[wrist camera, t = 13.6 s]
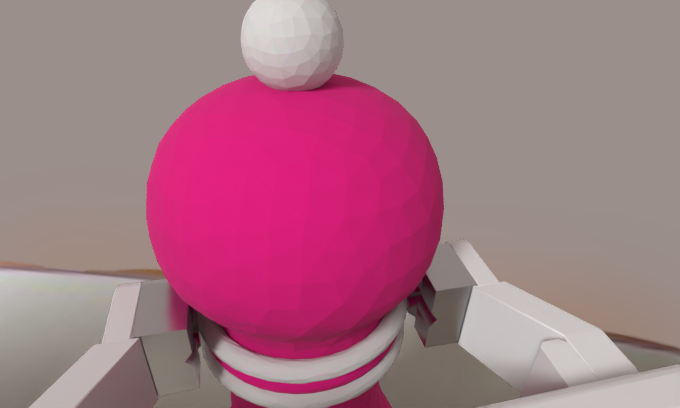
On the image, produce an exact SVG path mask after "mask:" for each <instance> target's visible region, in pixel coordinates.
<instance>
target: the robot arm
mask: <svg viewBox="0 0 680 408" xmlns="http://www.w3.org/2000/svg"><path fill="white" fill-rule="evenodd" d="M407 311H408V313H410V314H412V315H413V316H415V317H416V320H415V328H416V330H417V332H418V334H419V336H420V338H421V340H422V342H423V344H424V346H425V347H432V346H438V345H445V344H451V343H458V342H459V343H458V344H459V345H460V346H461V347H463V348H464V349H465V350H466V351H468V352H469V353H470V354H472V355H473V356H474V357H475V358H477V359H478V360H479V361H481V362H482V363H483V364H484V365H486V366H487V367H488V368H490V369H491V370H492V371H493V372H495V373H496V374H497V375H498V376H500V377H501V378H502V379H504V380H505V381H506V382H507V383H509V384H510V385H511V386H513V387H514V388H515V389H516V390H518V391H519V392H520V393H521V396H520V398H517V399H513V400H508V401H503V402H499V403H494V404H489V405H485V406H480V407H475V408H680V364H675V365H671V366H666V367H662V368H657V369H652V370H648V371H643V372H639V371H638V369H637V368H636V367H635V366H634V365H633V364H632V363H631V362H630V361H629V360H628V358H627V357H626V356H625V355H624V354H623V353H622V352H621V351H620V350H619V349H618V347H617V346H616V345H615V344H614V343H613V342H612V341H611V340H610V339H609V338H608V336H607V335H606V334H605V333H604V332H603V331H602V330H601V329H599V328H597V327H595V326H593V325H591V324H589V323H587V322H585V321H583V320H581V319H579V318H577V317H575V316H573V315H571V314H569V313H567V312H565V311H563V310H561V309H559V308H557V307H555V306H553V305H551V304H549V303H547V302H545V301H543V300H541V299H539V298H537V297H535V296H533V295H531V294H529V293H527V292H525V291H523V290H521V289H519V288H517V287H515V286H513V285H511V284H509V283H507V282H499V281H498V279H497V278H496V277H495V276H494V274H493V273H492V272H491V271H490V269H489V268H488V266H487V265H486V264H485V263H484V261H483V260H482V259H481V258H480V256H479V255H478V254H477V252H476V251H475V250H474V248H473V247H472V246H471V244H470V243H469V242H468V241H466V240H458V241H451V242H445V243H440V244H438V246H437V249H436V252H435V255H434V257H433V260H432V263H431V266H430V267H429V269H428V270H427V272H426V273H425V275H424V276H423V278H422V280H421V281H420V283H419V284H418V286H417V287H416V289H415V290H414V291H413V292H412V293H411V294H410V295H409V296H408V297H407ZM200 346H201V334H200V332H199V330H198V323H197V310H195V309H194V308H192V307H191V306H190V305H188V304H187V303H185V302H184V301H183V300H182V299H181V298H180V297H179V295H178V294H177V293H176V292H175V290H174V289H173V288H172V286H171V285H170V284H169V283H168V281H167V279H160V280H150V281H143V282H136V283H127V284H118V286H117V287H116V288H115V290H114V294H113V298H112V302H111V306H110V310H109V315H108V319H107V323H106V327H105V331H104V335H103V339H102V343H101V344H95V345H93V346H92V347H91V348H90V349H89V350H88V351H87V352H86V353H85V354H84V355H82V356H81V357H80V358H79V359H78V360H77V361H76V362H75V363H74V364H73V365H72V366H71V367H70V368H69V369H68V370H67V371H66V372H65V373H64V374H63V375H62V376H61V377H60V378H59V379H58V380H57V381H56V382H55V383H54V384H52V385H51V386H50V387H49V388H48V389H47V390H46V391H45V392H44V393H43V394H42V395H41V396H40V397H39V398H38V399H37V400H36V401H35V402H34V403H33V404H32V405H31V406H30V407H29V408H153V406H154V405H155V403H156V402H157V400H158V397H159V396H164V395H168V394H173V393H178V392H183V391H188V390H193V389H197V388H200V358H199V353H198V348H199V347H200Z"/></svg>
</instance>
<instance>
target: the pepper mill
mask: <svg viewBox="0 0 680 408" xmlns="http://www.w3.org/2000/svg"><path fill="white" fill-rule="evenodd" d="M241 46H242V53H243V56H244V58H245V61H246V63H247V65H248V67H249V68H250V70H251V71H252V72H253V74H254V75H253V76H248V77H244V78H242V79H239V80H236V81H234V82H231V83H228V84H225V85H222V86H221V87H219V88H217V89H215V90H214V91H212V92H210V93H208V94H206V95H205V96H203V97H201V98H200V99H199V100H197V101H196V102H195V103H194V104H192V105H191V106H190V107H188V108H187V109H186V110H185V111H184V112H183V113H182V114H181V116H180V117H179V118H178V119H177V120H176V121H175V122H174V123H173V124H172V126H171V127H170V128H169V130H168V131H167V133H166V134H165V135H164V137H163V138H162V140H161V141H160V143H159V146H158V148H157V151H156V154H155V157H154V160H153V163H152V166H151V170H150V174H149V177H148V181H147V202H146V215H147V216H146V217H147V225H148V231H149V237H150V240H151V243H152V247H153V250H154V253H155V256H156V259H157V262H158V263H159V265H160V267H161V269H162V271H163V273H164V275H165V277H166V279H167V281H168V283H169V284H170V285H171V286H172V288H173V289H174V290H175V292H176V293H177V294H178V295H179V297H180V298H181V299H182V300H183V301H184V302H185V303H187V304H188V305H190V306H191V307H192V308H194V309H195V310H197V323H198V330H199V332H200V334H201V346H202V351H203V355H204V358H205V360H206V362H207V364H208V366H209V368H210V370H211V371H212V373H213V374H214V376H215V377H216V378H217V379H218V380H219V381H220V382H221V383H222V384H223V385H224V386H225V387H226V388H227V389H229V390H230V391H231V401H232V406H231V408H392V407H391V405H390V404H389V402H388V400H387V399H386V397H385V395H384V394H383V392H382V391H381V389H380V386H379V382H378V381H379V380H380V379H381V378H382V377H383V376H384V375H385V374H386V373H387V371H388V370H389V369H390V368H391V366H392V364H393V362H394V360H395V359H396V357H397V355H398V353H399V351H400V348H401V344H402V339H403V334H404V319H405V316H406V310H407V297H408V296H409V295H410V294H411V293H412V292H413V291H414V290H415V289H416V287H417V286H418V284H419V283H420V281H421V280H422V278H423V276H424V275H425V273H426V272H427V270H428V269H429V267H430V266H431V263H432V260H433V257H434V255H435V252H436V249H437V246H438V243H439V241H440V235H441V227H442V219H443V211H444V205H443V184H442V178H441V174H440V170H439V165H438V161H437V157H436V155H435V153H434V151H433V149H432V146H431V144H430V142H429V139H428V137H427V136H426V134H425V133H424V131H423V129H422V128H421V126H420V125H419V123H418V122H417V120H416V119H415V118H414V117H413V116H411V115H410V113H408V111H407V110H406V109H405V108H404V107H403V106H402V105H401V104H400V103H399V102H397V101H396V100H394V99H392V98H391V97H389V96H388V95H386V94H384V93H383V92H381V91H380V90H378V89H376V88H374V87H372V86H370V85H367V84H365V83H362V82H360V81H358V80H355V79H352V78H350V77H345V76H341V75H336V74H333V73H334V72H335V70H336V69H337V67H338V65H339V63H340V60H341V57H342V52H343V46H344V41H343V29H342V26H341V24H340V21H339V19H338V16H337V13H336V11H335V10H334V9H333V8H332V7H331V6H330V5H329V3H328V2H327V1H326V0H256V1H255V2H253V3H252V5H251V7H250V8H249V10H248V11H247V13H246V15H245V18H244V21H243V24H242V33H241Z"/></svg>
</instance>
